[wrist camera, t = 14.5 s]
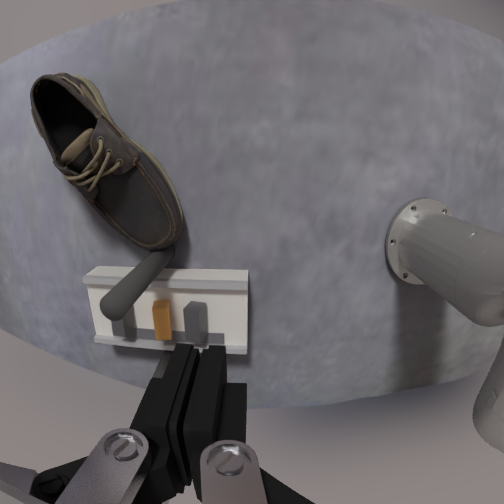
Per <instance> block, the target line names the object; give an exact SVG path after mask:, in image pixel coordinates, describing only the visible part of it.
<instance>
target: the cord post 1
mask: <svg viewBox="0 0 504 504" xmlns="http://www.w3.org/2000/svg"><path fill="white" fill-rule="evenodd" d="M174 255H175V248H174V246H173V245H172V244H171V245H169V246H167V247H166V248H163V249H160V250H157V251H153V252H152V253H151V254H150V255H148V256H147V257H146V258H145V259H144V260H143V261H142V262H141V263H139V264H138V265H137V266H136V267H135V268H134V269H133V270H132V271H130V272H129V273H128V274H127V275H126V276H125V277H124V278H123V279H122V280H121V281H120V282H118V283H117V284H116V285H115V286H114V287H113V288H112V289H111V290H110V291H109V292H108V293H107V294H106V295H104V296H103V297H102V298H101V300H100V305H99V306H100V310H101V312H102V314H103V315H104V316H105V317H106V318H107V319H109V320H112V321H119V320H121V319H122V318H123V317H124V315H125V314H126V313H127V312H128V310H129V309H130V308H131V307H132V306H133V304H134V303H135V302H136V301H137V299H138V298H139V297H140V296H141V295H142V293H143V292H144V291H145V290H146V289H147V287H148V286H149V285H150V284H151V283H152V281H153V280H154V279H155V278H156V277H157V276H158V274H159V273H160V272H161V271H162V270H163V269H164V267H165V266H166V265H167V264H168V263H169V262H170V260H171V259H172V258H173V257H174Z"/></svg>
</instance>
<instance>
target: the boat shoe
mask: <svg viewBox="0 0 504 504" xmlns="http://www.w3.org/2000/svg"><path fill="white" fill-rule="evenodd" d="M30 99H31V106H32V109H31V111H32V116H33V119H34V122H35V125H36V127H37V130H38V132H39V134H40V135H41V137H42V138H44V140H45V142H46V144H47V147H48V149H49V151H50V153H51V156H52V158H53V160H54V161H53V163H54V165H55V167H57V168H58V169H59V170H60V171H61V172H62V173H63V174H64V177H65V179H67V180H68V181H69V182H70V183H71V184H72V185H74V186H75V187H76V188H77V189H78V190H79V191H80V192H81V193H82V195H83V196H84V197H85V198H86V199H87V200H88V202H89V203H90V204H91V206H92V207H93V208H94V209H95V210H96V211H97V212H98V213H99V215H100V216H101V217H102V218H103V219H104V220H105V221H106V222H107V223H108V224H109V225H110V226H112V227H113V228H114V229H115V230H116V231H118V232H119V233H120V234H122V235H123V236H124V237H126V238H127V239H128V240H130V241H131V242H132V243H134V244H135V245H137V246H138V247H141V248H143V249H145V250H148V251H157V250H160V249H163V248H166V247H167V246H169V245H171V244H172V243H173V242H174V241H176V240H177V239H178V238H179V236H180V235H181V233H182V230H183V215H182V210H181V206H180V203H179V199H178V197H177V194H176V192H175V189H174V187H173V185H172V183H171V181H170V179H169V177H168V176H167V174H166V172H165V170H164V169H163V167H162V166H161V165H160V163H159V162H158V161H157V160H156V158H155V157H154V156H153V155H151V154H150V153H149V152H148V151H147V150H146V149H144V148H143V147H141V146H140V145H138V144H137V143H135V142H134V141H132V140H131V139H130V138H129V137H127V136H126V135H125V134H124V133H123V132H122V131H121V130H120V129H119V128H118V127H117V126H116V124H115V123H114V122H113V120H112V118H111V117H110V115H109V113H108V111H107V109H106V106H105V103H104V101H103V98H102V96H101V94H100V92H99V91H98V89H97V88H96V86H95V85H94V84H93V83H92V82H91V81H89V80H88V79H86V78H84V77H82V76H77V75H72V76H71V75H69V74H67V73H58V74H55V75H43V76H41V77H39V78H38V79H37V80H36V81H35V82H34V84H33V86H32V88H31V92H30Z"/></svg>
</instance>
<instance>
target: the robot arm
mask: <svg viewBox="0 0 504 504" xmlns="http://www.w3.org/2000/svg"><path fill="white" fill-rule="evenodd" d="M411 207H412V209H411ZM391 240H392V242H391ZM385 246H386V256H387V260H388V263H389V265H390V267H391V269H392V270H393V272H394V273H395V274H396V275H397V276H398V277H399V278H400V279H402V280H403V281H405V282H407V283H409V284H414V285H423V284H426V285H427V286H428V287H430V288H431V289H432V290H434V291H435V292H436V293H437V294H439V295H440V296H441V297H442V298H444V299H445V300H446V301H447V302H448V303H450V304H451V305H452V306H453V307H455V308H456V309H457V310H458V311H459V312H461V313H462V314H463V315H464V316H466V317H467V318H468V319H469V320H471V321H472V322H474V323H476V324H478V325H481V326H486V327H493V326H499V325H503V324H504V235H503V234H500V233H497V232H494V231H492V230H489V229H486V228H483V227H481V226H478V225H475V224H472V223H469V222H466V221H463V220H460V219H457V218H455V217H454V215H453V213H452V212H451V211H450V210H449V208H448V207H447V206H445V205H444V204H443V203H441V202H439V201H437V200H433V199H427V198H422V199H416V200H414V201H411V202H409V203H408V204H406V205H405V206H403V207H402V208H401V209H400V210H399V211H398V212H397V214H396V215H395V217H394V218H393V220H392V222H391V224H390V226H389V229H388V232H387V236H386V242H385ZM246 411H247V383H227V365H226V346H225V345H209V348H208V349H203V350H202V354H201V358H200V353H199V349H198V348H194V346H193V344H184V343H177V344H176V345H175V348H174V350H173V353H172V355H171V358H170V360H169V362H168V365H167V367H166V370H165V372H164V375H163V377H162V378H156V377H153V378H152V379H151V380H150V382H149V384H148V387H147V389H146V391H145V394H144V396H143V398H142V400H141V403H140V405H139V407H138V410H137V412H136V414H135V417H134V419H133V421H132V423H131V426H130V428H129V429H127V428H124V429H123V428H121V429H116V430H112V431H110V432H108V433H107V434H105V435H104V436H103V437H102V438H101V440H100V441H99V442H98V444H97V445H96V446H95V448H94V449H93V450H92V452H91V453H90V455H89V456H87V457H84V458H81V459H79V460H76V461H73V462H70V463H67V464H64V465H62V466H58V467H55V468H52V469H49V470H46V471H43V472H41V473H40V474H39V473H37V472H36V470H32V469H27V468H23V467H18V466H14V465H10V464H6V463H2V462H0V504H168V502H169V499H171V498H173V497H175V496H176V494H177V493H183V492H184V487H185V485H186V486H190V485H191V481H192V479H193V483H194V488H195V491H196V495H197V499H199V500H200V501H201V502H202V504H315V503H313V502H311V501H310V500H308V499H306V498H305V497H303V496H302V495H300V494H298V493H297V492H295V491H293V490H292V489H291V488H289V487H288V486H286V485H284V484H283V483H282V482H280V481H279V480H277V479H276V478H274V477H273V476H271V475H270V474H268V473H267V472H266V471H264V470H263V469H261V468H260V467H259V463H258V459H257V456H256V453H255V451H254V450H253V449H252V448H251V447H250V446H248V445H247V444H246ZM473 423H474V426H475V428H476V430H477V432H478V434H479V435H480V436H481V437H482V438H483V439H484V440H485V441H486V442H487V443H488V444H489V445H491V446H492V447H494V448H496V449H497V450H499V451H501V452H503V453H504V337H503V339H502V342H501V346H500V348H499V351H498V353H497V355H496V358H495V360H494V362H493V364H492V367H491V369H490V371H489V373H488V375H487V377H486V379H485V381H484V383H483V385H482V387H481V389H480V391H479V394H478V396H477V398H476V401H475V404H474V407H473Z"/></svg>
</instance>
